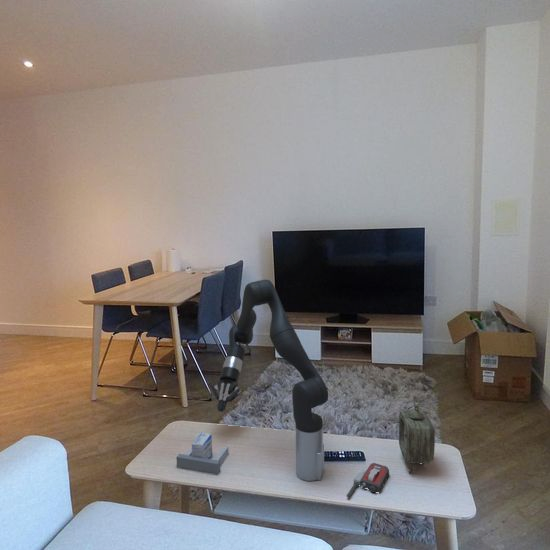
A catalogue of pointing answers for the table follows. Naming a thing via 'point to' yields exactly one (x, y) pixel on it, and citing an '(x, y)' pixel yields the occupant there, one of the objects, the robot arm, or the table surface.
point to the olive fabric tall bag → (416, 436)
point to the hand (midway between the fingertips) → (220, 410)
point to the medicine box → (202, 446)
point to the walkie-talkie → (371, 478)
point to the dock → (202, 462)
